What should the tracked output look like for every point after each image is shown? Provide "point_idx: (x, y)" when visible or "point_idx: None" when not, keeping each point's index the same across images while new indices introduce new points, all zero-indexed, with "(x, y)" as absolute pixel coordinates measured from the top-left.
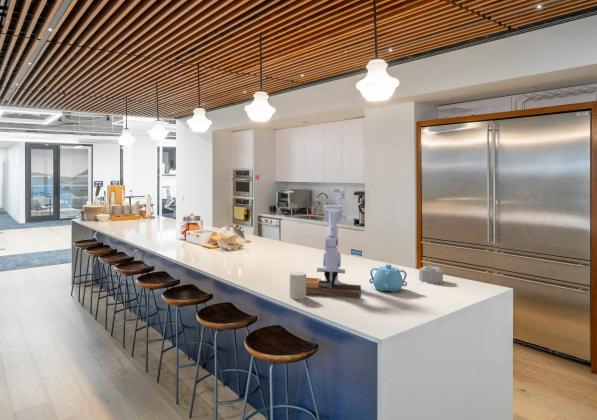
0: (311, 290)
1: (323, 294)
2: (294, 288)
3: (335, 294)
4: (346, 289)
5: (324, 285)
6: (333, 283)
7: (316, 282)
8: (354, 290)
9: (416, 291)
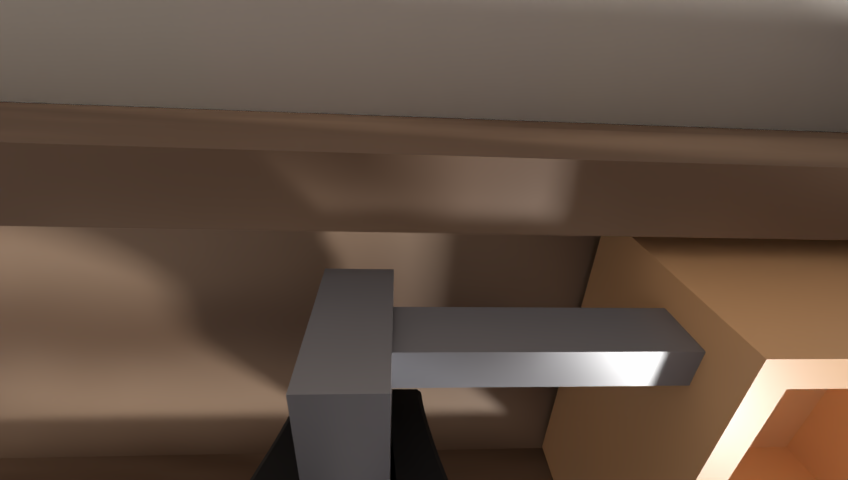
0: (797, 151)
1: (487, 123)
2: None
3: (210, 120)
4: (143, 457)
5: (509, 326)
6: (266, 455)
7: (819, 355)
8: (8, 448)
9: None
